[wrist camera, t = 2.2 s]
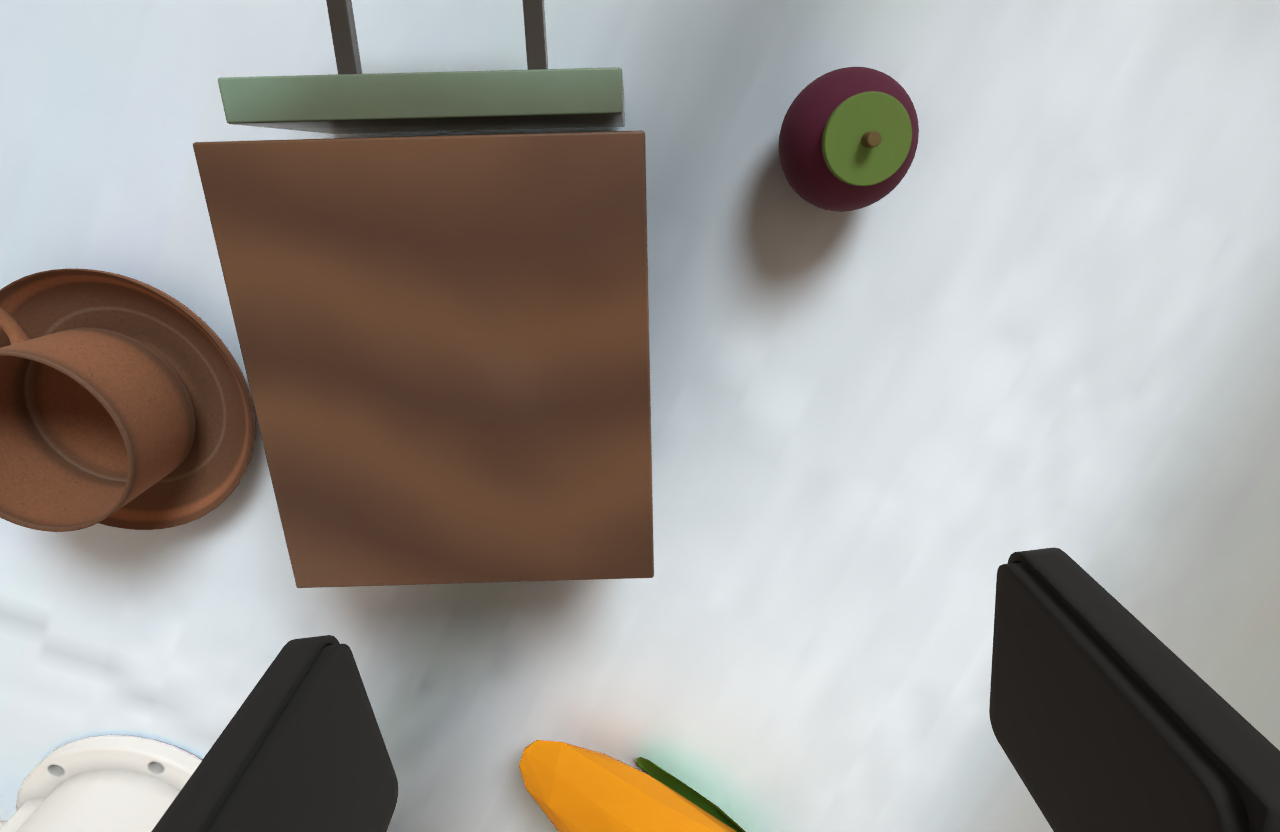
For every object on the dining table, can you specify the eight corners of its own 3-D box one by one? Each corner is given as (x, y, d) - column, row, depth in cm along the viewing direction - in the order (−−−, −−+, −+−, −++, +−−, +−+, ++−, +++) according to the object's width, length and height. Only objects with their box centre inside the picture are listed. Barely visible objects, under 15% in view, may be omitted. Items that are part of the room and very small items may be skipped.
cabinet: (332, 148, 28) (190, 142, 19) (640, 140, 28) (644, 130, 19) (386, 472, 33) (296, 588, 24) (647, 465, 33) (653, 578, 24)
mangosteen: (764, 208, 29) (795, 219, 24) (769, 77, 27) (804, 56, 22) (881, 205, 29) (940, 215, 24) (893, 74, 27) (960, 52, 22)
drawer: (301, -74, 25) (161, -174, 17) (618, -82, 25) (614, -185, 17) (384, 424, 31) (309, 505, 24) (633, 418, 31) (634, 496, 24)
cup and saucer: (-37, 417, 32) (-185, 474, 26) (62, 203, 29) (-83, 214, 23) (204, 552, 34) (118, 631, 29) (319, 371, 31) (248, 418, 25)
